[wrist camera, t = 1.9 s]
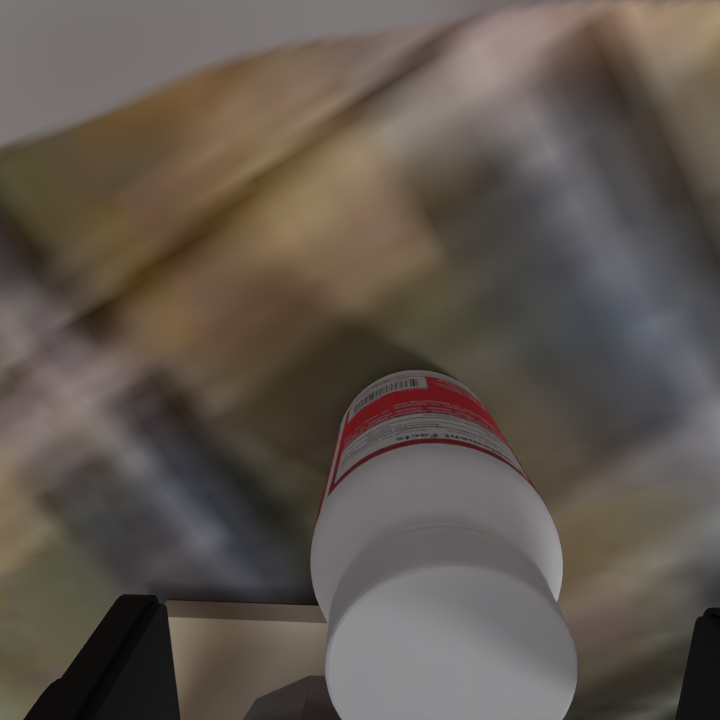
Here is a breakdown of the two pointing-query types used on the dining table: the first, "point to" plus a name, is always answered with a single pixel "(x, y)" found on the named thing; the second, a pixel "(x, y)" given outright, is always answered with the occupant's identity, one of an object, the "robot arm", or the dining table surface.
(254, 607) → the socket board
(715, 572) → the dining table surface
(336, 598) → the pill bottle
